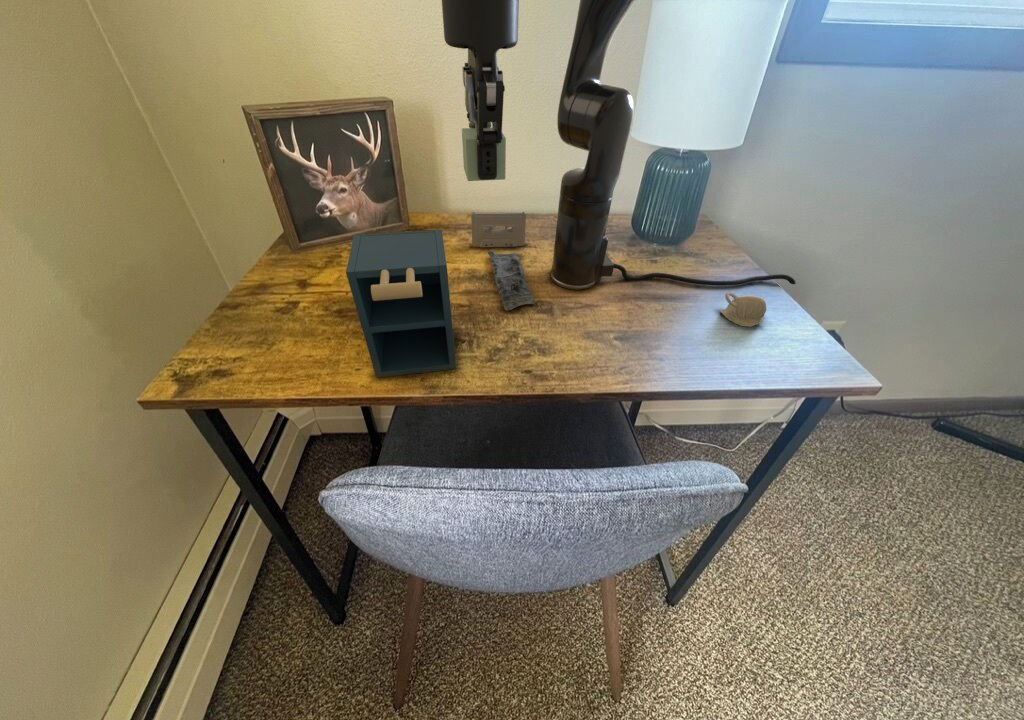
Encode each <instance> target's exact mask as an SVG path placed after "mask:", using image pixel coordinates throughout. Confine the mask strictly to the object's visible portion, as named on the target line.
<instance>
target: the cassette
mask: <svg viewBox="0 0 1024 720" xmlns="http://www.w3.org/2000/svg"><path fill="white" fill-rule="evenodd" d="M470 218H471V221H470V222H471V243H472V244H471V245H472V247H473V248H477V247H478V248H479V247H480V248H514V247H515V248H516V247H524V246H525V245H526V244H525V243H526V224H527V223H526V222H527V214H526V211H471V213H470ZM493 227H504V229H493Z"/></svg>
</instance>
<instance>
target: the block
mask: <svg viewBox="0 0 1024 720" xmlns="http://www.w3.org/2000/svg"><path fill="white" fill-rule="evenodd" d="M483 131H493V128H492V127H490V128H483ZM475 137H476V134H475V128H469V127H466V128H465V127H463V128H461V141H462V142H461V143H462V159H463V160H462V161H463V169H464V173H465V176H466V180H467V182H479V181H482V182H483V180H481V179H479V177H478V167H477V145H476V142H475ZM506 155H507V138H506V136H505V134H504V133H503V132H502V139H501V143H499V144H498V145H497V177H496V178H495V179H493V180H492V181H502V180H506V169H507V168H506V165H507V164H506V159H507V158H506V157H507V156H506Z"/></svg>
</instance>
